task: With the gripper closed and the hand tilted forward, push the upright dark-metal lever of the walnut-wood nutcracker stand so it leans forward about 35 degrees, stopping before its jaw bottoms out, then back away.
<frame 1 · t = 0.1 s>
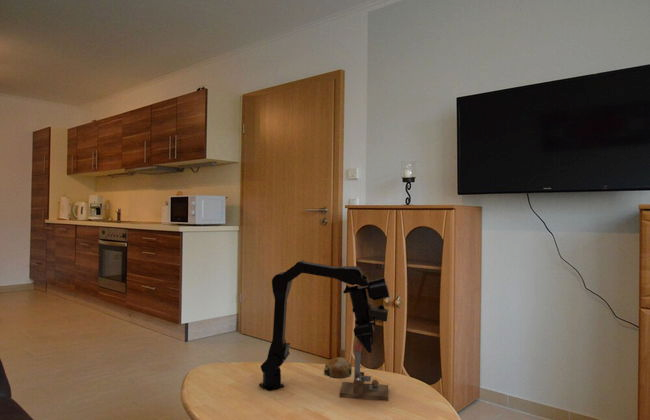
hand: (371, 348, 154), 15 cm above the table, tool pointing down, fingers open, 9 cm apart
bread roll: (337, 374, 173), on the table
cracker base: (358, 392, 155), on the table
lever: (362, 363, 155), point 10 cm above the table, hinge at 0.0°
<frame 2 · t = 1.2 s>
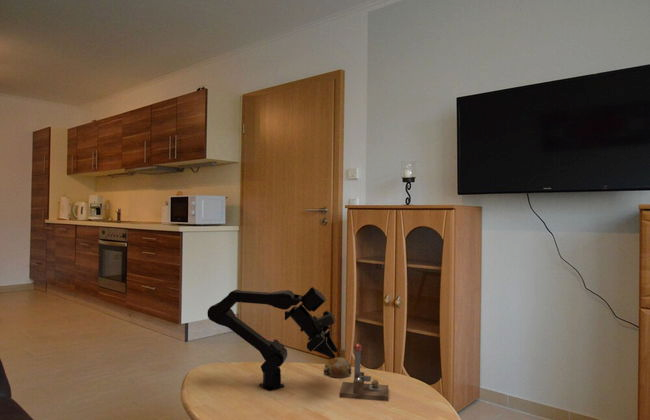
hand: (335, 354, 157), 12 cm above the table, tool tilted 45°, fingers open, 6 cm apart
nothing on the table moved.
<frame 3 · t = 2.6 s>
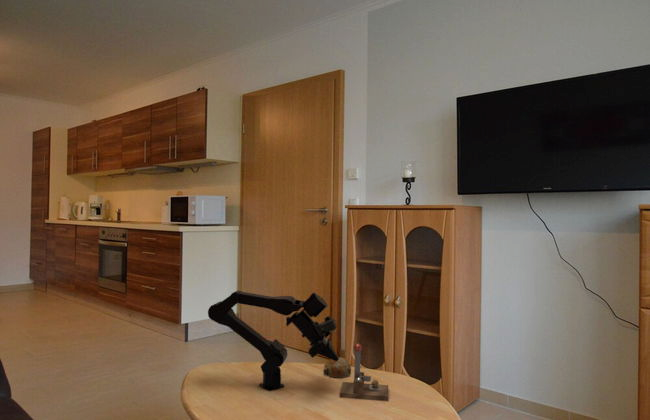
hand: (337, 360, 156), 11 cm above the table, tool tilted 45°, fingers closed
nothing on the table moved.
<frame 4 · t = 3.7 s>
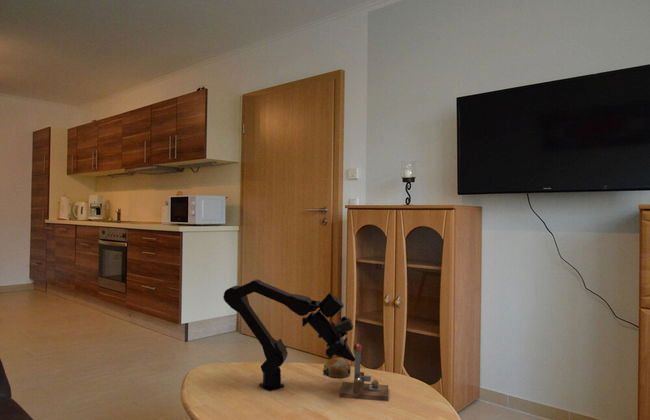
hand: (354, 360, 156), 11 cm above the table, tool tilted 45°, fingers closed, pressing on lever
lever: (362, 363, 155), point 10 cm above the table, hinge at 0.3°, touching gripper
everything else where it was.
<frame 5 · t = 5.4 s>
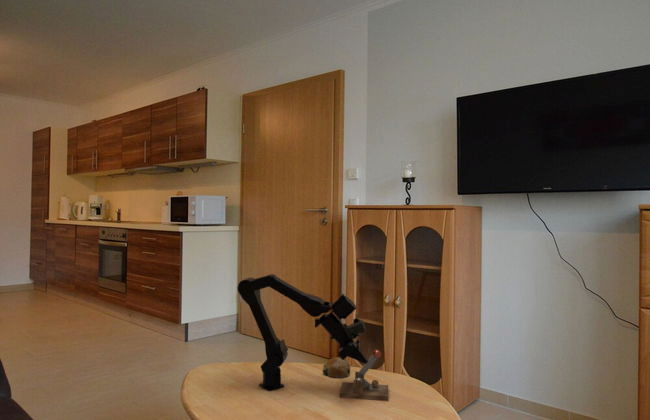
hand: (366, 362, 155), 10 cm above the table, tool tilted 45°, fingers closed, pressing on lever
lever: (371, 368, 155), point 8 cm above the table, hinge at 36.2°, touching gripper
everything else where it was.
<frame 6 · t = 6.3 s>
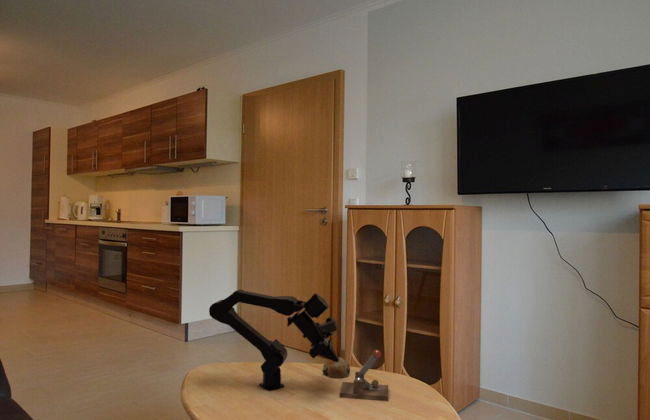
hand: (338, 361, 156), 10 cm above the table, tool tilted 45°, fingers closed
lever: (371, 368, 155), point 8 cm above the table, hinge at 36.2°
everything else where it was.
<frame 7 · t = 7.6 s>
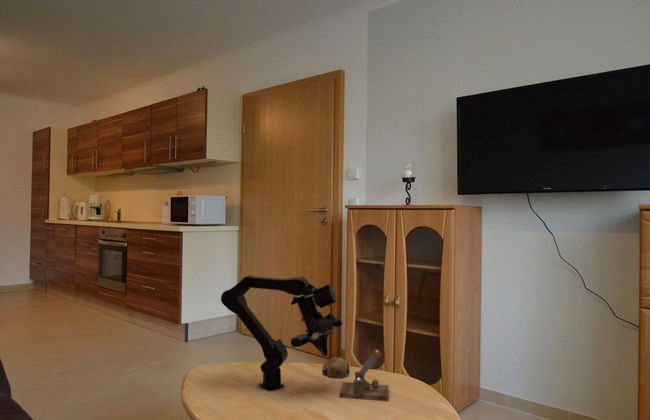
hand: (325, 355, 156), 12 cm above the table, tool tilted 25°, fingers closed
nothing on the table moved.
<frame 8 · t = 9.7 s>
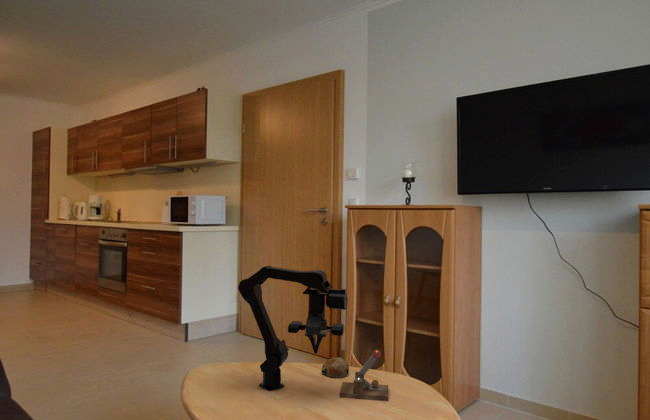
hand: (315, 353, 156), 13 cm above the table, tool pointing down, fingers closed
at the end: lever at +36° (first picture: +0°) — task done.
